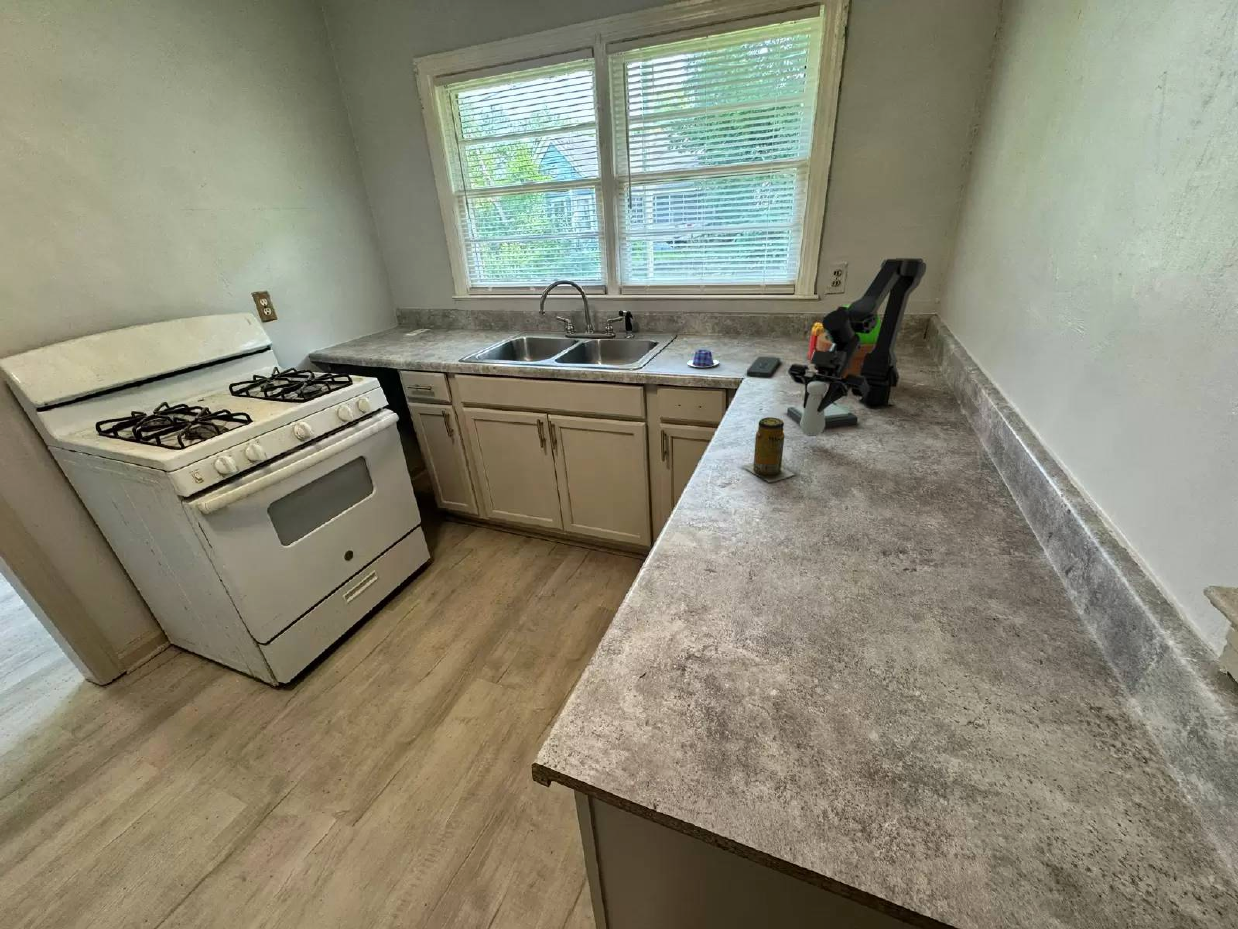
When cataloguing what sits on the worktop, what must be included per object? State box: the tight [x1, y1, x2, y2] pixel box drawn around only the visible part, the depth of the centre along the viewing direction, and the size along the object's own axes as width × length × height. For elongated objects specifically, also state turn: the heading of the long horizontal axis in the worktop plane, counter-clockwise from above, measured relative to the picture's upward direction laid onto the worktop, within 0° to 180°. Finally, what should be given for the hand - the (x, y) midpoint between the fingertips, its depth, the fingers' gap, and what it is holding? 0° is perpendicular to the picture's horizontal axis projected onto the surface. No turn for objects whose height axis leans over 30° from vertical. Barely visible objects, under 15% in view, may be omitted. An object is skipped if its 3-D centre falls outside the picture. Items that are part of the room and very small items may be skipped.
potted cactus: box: [817, 302, 882, 378], centre depth 160 cm, size 22×22×25 cm
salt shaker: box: [799, 381, 828, 437], centre depth 120 cm, size 6×6×13 cm
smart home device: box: [746, 356, 781, 378], centre depth 181 cm, size 8×2×20 cm
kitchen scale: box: [786, 402, 859, 429], centre depth 136 cm, size 14×12×3 cm
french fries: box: [808, 322, 825, 361], centre depth 186 cm, size 9×4×13 cm, turn 163°
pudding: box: [687, 349, 720, 368], centre depth 189 cm, size 12×12×5 cm
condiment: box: [744, 416, 796, 483], centre depth 109 cm, size 7×8×12 cm
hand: (811, 409), depth 119 cm, fingers closed on salt shaker, 3 cm apart
